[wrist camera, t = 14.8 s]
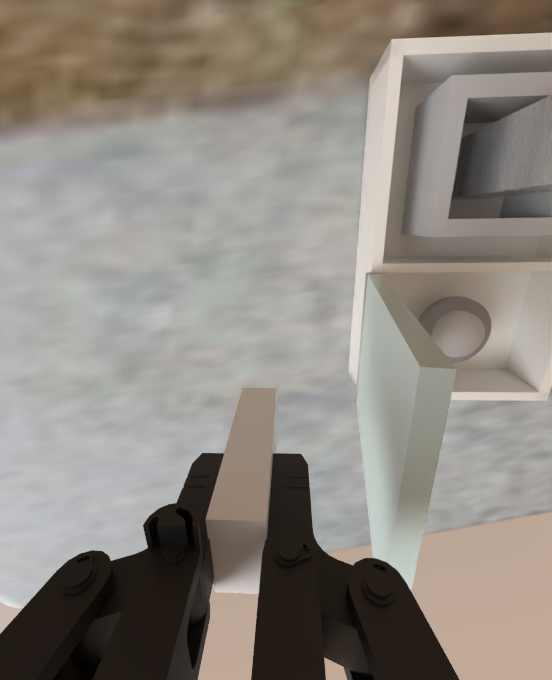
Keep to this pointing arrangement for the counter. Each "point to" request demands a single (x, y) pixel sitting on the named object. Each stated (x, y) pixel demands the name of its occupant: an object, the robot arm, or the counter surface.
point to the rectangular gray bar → (507, 156)
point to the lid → (399, 422)
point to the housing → (458, 211)
